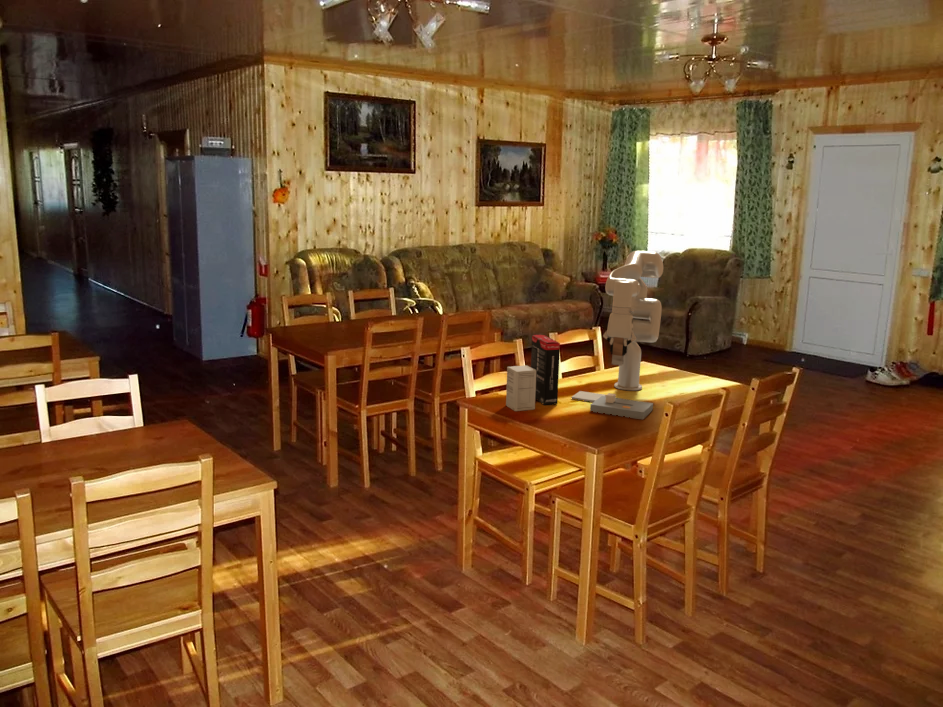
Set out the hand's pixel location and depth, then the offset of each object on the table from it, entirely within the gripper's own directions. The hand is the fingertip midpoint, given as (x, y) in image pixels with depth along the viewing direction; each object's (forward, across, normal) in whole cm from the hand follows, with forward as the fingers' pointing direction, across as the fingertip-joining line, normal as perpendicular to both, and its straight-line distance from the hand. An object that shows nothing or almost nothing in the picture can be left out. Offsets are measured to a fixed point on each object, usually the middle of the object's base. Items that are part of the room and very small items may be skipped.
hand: (618, 353), depth 334 cm
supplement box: (+23, +34, +22) cm, 47 cm away
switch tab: (+19, +1, +5) cm, 20 cm away
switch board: (+23, -4, +5) cm, 24 cm away
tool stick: (+4, 0, 0) cm, 4 cm away
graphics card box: (+23, +30, +6) cm, 38 cm away
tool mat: (+23, +13, -8) cm, 27 cm away
